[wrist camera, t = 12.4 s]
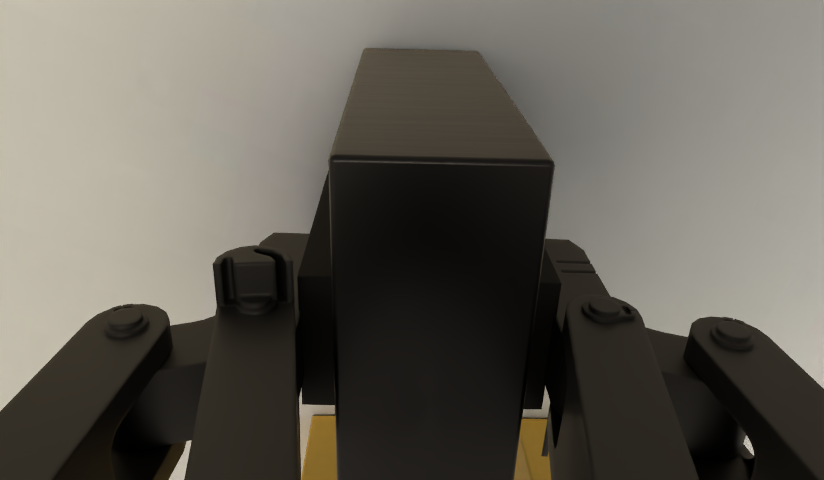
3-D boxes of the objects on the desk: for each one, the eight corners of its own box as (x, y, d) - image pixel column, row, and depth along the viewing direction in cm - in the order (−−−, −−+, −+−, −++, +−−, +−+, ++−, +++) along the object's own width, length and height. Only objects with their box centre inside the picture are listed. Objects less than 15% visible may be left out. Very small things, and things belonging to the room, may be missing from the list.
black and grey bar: (362, 47, 17) (327, 155, 8) (479, 50, 17) (556, 161, 8) (364, 552, 24) (346, 861, 16) (443, 552, 24) (465, 860, 16)
